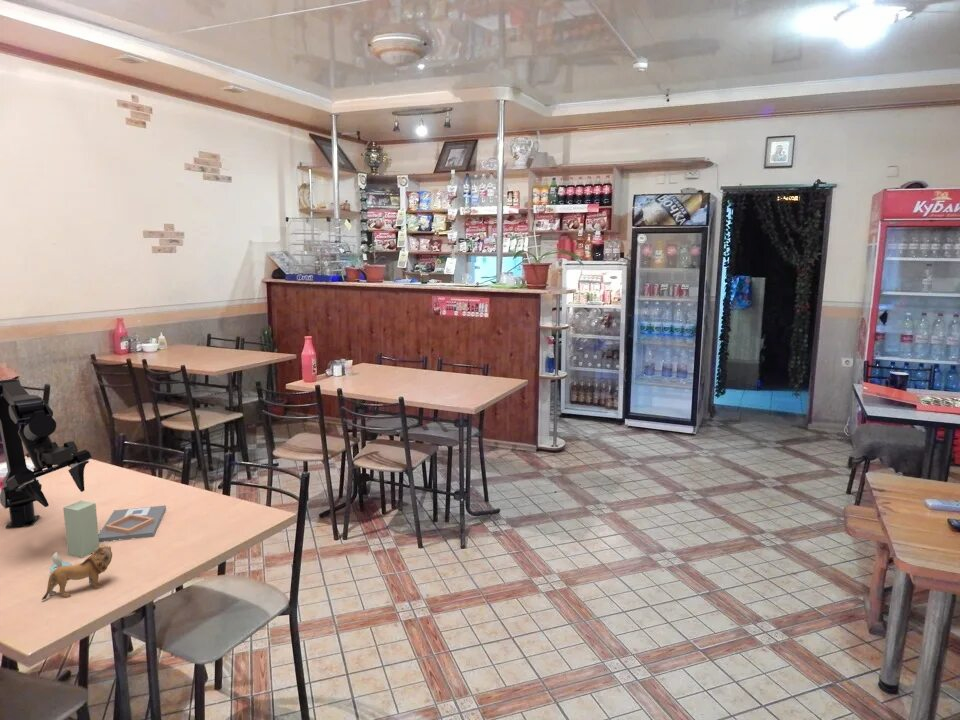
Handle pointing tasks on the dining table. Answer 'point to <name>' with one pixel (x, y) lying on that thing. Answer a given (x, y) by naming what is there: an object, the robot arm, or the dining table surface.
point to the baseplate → (133, 523)
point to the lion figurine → (81, 571)
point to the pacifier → (58, 562)
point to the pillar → (81, 528)
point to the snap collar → (114, 524)
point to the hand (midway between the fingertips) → (65, 498)
